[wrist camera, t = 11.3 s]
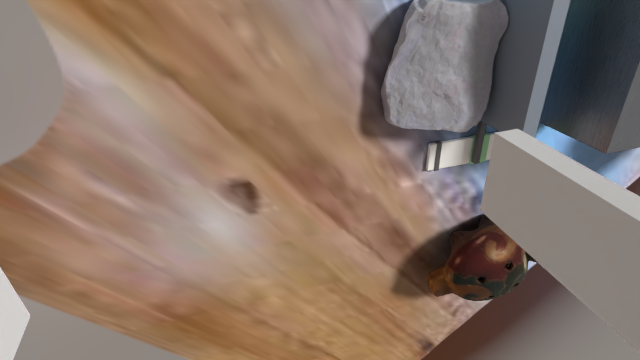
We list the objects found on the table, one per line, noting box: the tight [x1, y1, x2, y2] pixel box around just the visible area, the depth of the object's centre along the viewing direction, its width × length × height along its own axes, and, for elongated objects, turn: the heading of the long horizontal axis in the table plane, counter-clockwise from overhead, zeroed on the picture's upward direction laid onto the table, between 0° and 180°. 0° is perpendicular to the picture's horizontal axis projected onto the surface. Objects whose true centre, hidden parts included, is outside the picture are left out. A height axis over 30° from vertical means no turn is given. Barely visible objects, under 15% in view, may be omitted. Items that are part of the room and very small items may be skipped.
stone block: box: [380, 0, 509, 132], centre depth 36 cm, size 12×5×10 cm
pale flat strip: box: [426, 132, 497, 171], centre depth 43 cm, size 3×10×1 cm, turn 92°
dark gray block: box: [539, 0, 640, 154], centre depth 36 cm, size 16×6×10 cm, turn 2°
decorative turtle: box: [427, 215, 538, 301], centre depth 47 cm, size 10×15×8 cm, turn 124°
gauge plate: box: [471, 0, 570, 164], centre depth 36 cm, size 19×2×7 cm, turn 2°
